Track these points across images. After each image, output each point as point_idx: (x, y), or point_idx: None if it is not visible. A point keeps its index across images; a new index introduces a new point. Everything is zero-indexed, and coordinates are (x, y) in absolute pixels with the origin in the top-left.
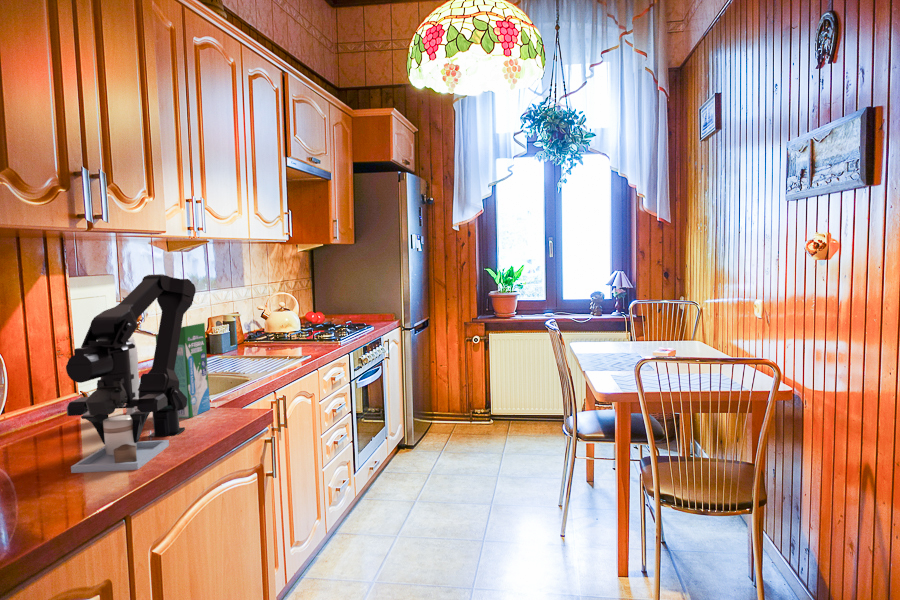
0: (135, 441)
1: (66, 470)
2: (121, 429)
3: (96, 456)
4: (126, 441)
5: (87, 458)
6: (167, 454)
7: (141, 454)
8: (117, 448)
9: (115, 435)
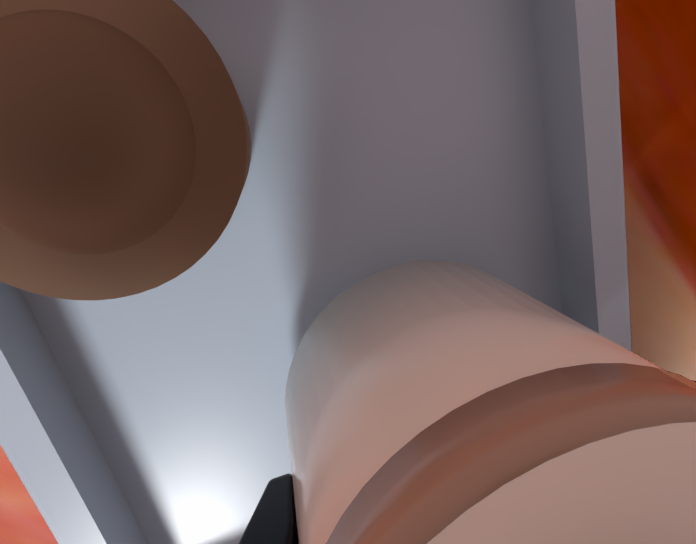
0: (272, 486)
1: (665, 2)
2: (401, 516)
3: (570, 245)
4: (313, 407)
5: (583, 91)
6: (20, 493)
7: (224, 410)
8: (206, 121)
9: (457, 377)
